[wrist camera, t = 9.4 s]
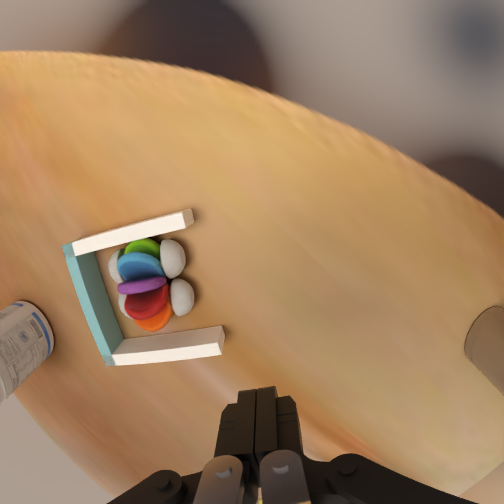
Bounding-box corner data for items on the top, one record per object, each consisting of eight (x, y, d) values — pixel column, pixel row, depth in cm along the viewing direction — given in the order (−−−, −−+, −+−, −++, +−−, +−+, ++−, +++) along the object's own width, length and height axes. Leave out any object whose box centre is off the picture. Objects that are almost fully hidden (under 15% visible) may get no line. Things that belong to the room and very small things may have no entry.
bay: (191, 208, 31) (181, 212, 27) (225, 336, 35) (221, 354, 31) (80, 238, 32) (61, 245, 29) (118, 349, 36) (106, 366, 32)
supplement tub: (12, 337, 37) (-43, 381, 22) (12, 288, 34) (-55, 326, 20) (56, 366, 37) (4, 422, 23) (58, 316, 35) (-8, 369, 21)
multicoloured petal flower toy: (135, 317, 35) (110, 347, 28) (114, 240, 33) (81, 255, 25) (201, 311, 34) (187, 342, 27) (183, 227, 32) (162, 240, 25)
